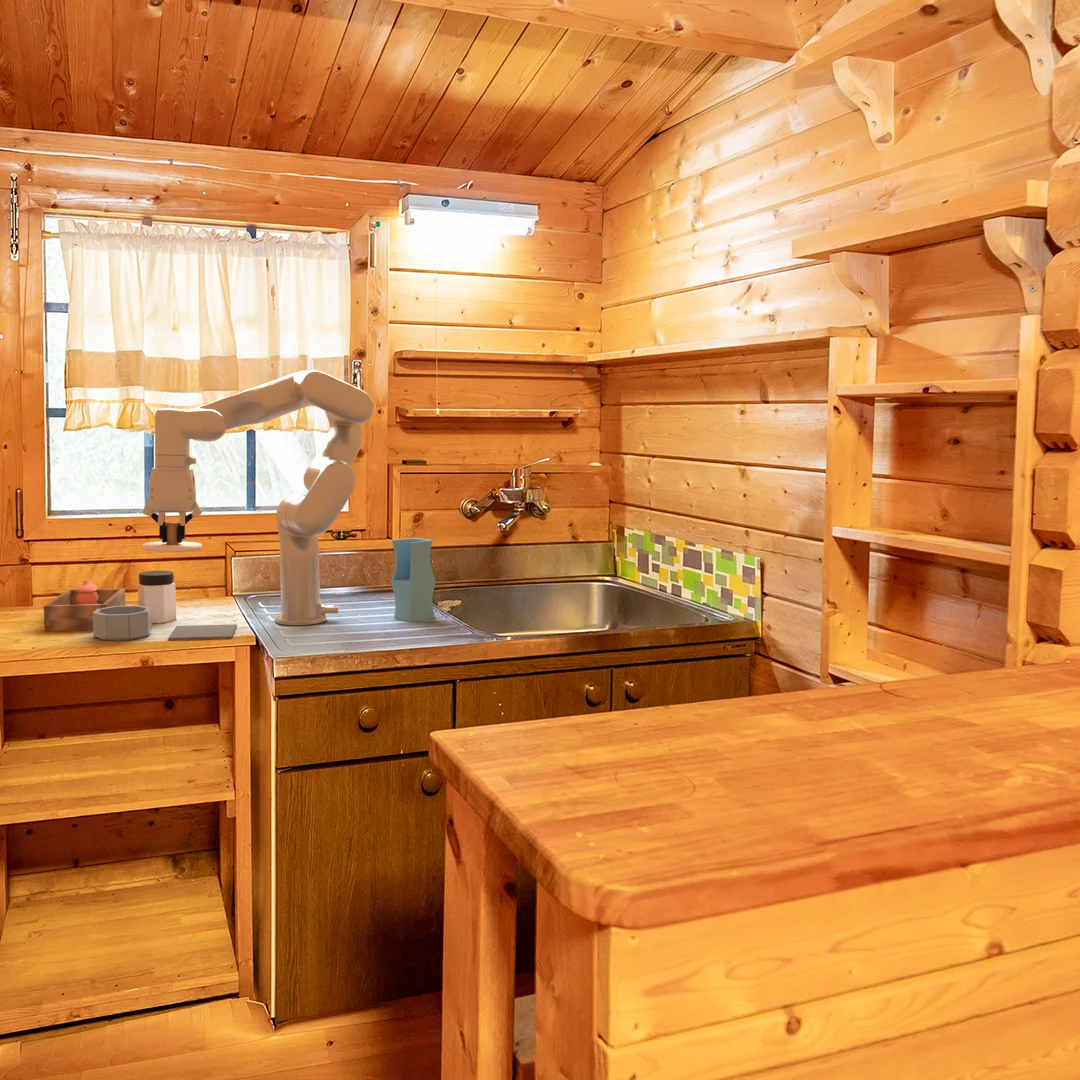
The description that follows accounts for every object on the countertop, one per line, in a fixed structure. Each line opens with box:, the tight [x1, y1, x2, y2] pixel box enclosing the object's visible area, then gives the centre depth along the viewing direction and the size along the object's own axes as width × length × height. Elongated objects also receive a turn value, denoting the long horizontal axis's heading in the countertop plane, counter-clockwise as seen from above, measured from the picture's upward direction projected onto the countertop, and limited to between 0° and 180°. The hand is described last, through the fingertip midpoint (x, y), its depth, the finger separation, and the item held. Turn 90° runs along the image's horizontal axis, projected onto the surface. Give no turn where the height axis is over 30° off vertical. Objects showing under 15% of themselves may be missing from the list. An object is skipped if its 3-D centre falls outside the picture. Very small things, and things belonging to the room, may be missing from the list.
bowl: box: [92, 604, 153, 642], centre depth 254 cm, size 12×12×6 cm
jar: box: [137, 570, 177, 624], centre depth 272 cm, size 9×8×12 cm
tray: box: [43, 587, 126, 632], centre depth 271 cm, size 14×24×6 cm, turn 11°
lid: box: [142, 521, 203, 553], centre depth 254 cm, size 13×13×6 cm
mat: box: [167, 623, 238, 641], centre depth 258 cm, size 14×14×1 cm
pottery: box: [76, 579, 98, 605], centre depth 269 cm, size 18×10×10 cm, turn 11°
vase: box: [390, 537, 436, 623], centre depth 278 cm, size 8×8×20 cm
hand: (172, 541), depth 254 cm, fingers closed on lid, 2 cm apart
